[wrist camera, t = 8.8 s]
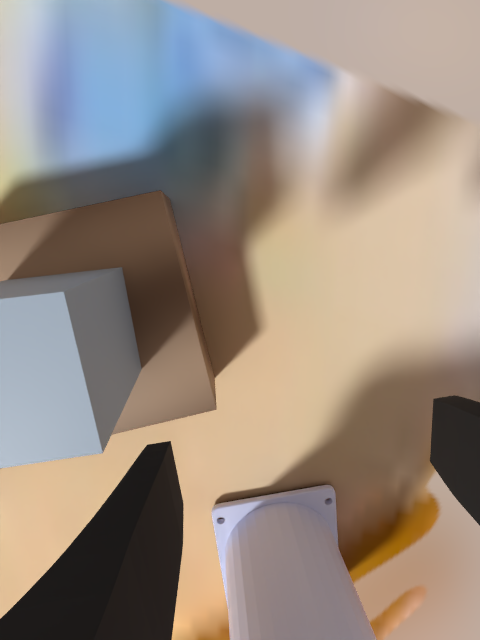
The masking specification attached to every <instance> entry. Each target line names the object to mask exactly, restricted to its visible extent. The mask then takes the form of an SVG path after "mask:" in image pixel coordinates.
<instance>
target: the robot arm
mask: <svg viewBox="0 0 480 640" xmlns="http://www.w3.org/2000/svg"><path fill="white" fill-rule="evenodd" d="M430 462H431V463H432V465H433V466H434V468H435V469H436V471H437V472H438V474H439V475H440V476H441V478H442V480H443V481H444V483H445V484H446V485H447V487H448V488H449V489H450V491H451V492H452V494H453V495H454V496H455V497H456V499H457V500H458V501H459V502H460V503H461V505H462V506H463V507H464V508H465V509H466V510H467V511H468V513H469V514H470V515H471V516H472V517H473V518H474V519H475V521H476V522H477V523H478V524H479V525H480V403H479V402H476V401H473V400H470V399H466V398H463V397H459V396H448V397H442V398H436V399H434V400H433V418H432V437H431V455H430ZM328 498H330V499H329V500H326V499H328ZM220 517H223V518H222V519H218V518H220ZM212 519H213V525H214V531H215V537H216V542H217V548H218V554H219V560H220V566H221V571H222V577H223V583H224V589H225V594H226V600H227V606H228V614H229V631H230V640H377V639H376V637H375V634H374V632H373V630H372V627H371V625H370V623H369V620H368V618H367V615H366V613H365V611H364V608H363V606H362V603H361V601H360V599H359V596H358V594H357V591H356V589H355V587H354V584H353V582H352V579H351V577H350V575H349V572H348V570H347V567H346V565H345V563H344V560H343V558H342V556H341V553H340V551H339V548H338V531H337V513H336V494H335V490H334V488H333V487H332V486H331V485H322V486H316V487H311V488H305V489H299V490H293V491H288V492H282V493H276V494H270V495H265V496H259V497H253V498H247V499H242V500H236V501H230V502H224V503H219V504H216V505H214V506H213V508H212ZM182 547H183V500H182V495H181V490H180V485H179V480H178V475H177V470H176V465H175V461H174V456H173V451H172V446H171V441H169V442H162V443H156V444H150V445H147V446H146V447H145V448H144V450H143V451H142V452H141V454H140V455H139V456H138V458H137V459H136V461H135V462H134V463H133V465H132V466H131V468H130V469H129V470H128V472H127V473H126V475H125V476H124V477H123V479H122V480H121V481H120V483H119V484H118V486H117V487H116V488H115V490H114V491H113V492H112V493H111V495H110V496H109V497H108V499H107V500H106V501H105V503H104V504H103V505H102V507H101V508H100V509H99V511H98V512H97V513H96V514H95V516H94V517H93V518H92V519H91V521H90V522H89V523H88V524H87V525H86V527H85V528H84V529H83V530H82V531H81V533H80V534H79V535H78V536H77V538H76V539H75V540H74V541H73V542H72V544H71V545H70V546H69V547H68V548H67V550H66V551H65V552H64V553H63V554H62V555H61V556H60V558H59V559H58V560H57V561H56V562H55V563H54V564H53V565H52V566H51V568H50V569H49V570H48V571H47V572H46V573H45V574H44V575H43V576H42V577H41V578H40V579H39V580H38V581H37V582H36V583H35V585H34V586H33V587H32V588H31V589H30V590H29V591H28V592H27V593H26V594H25V595H24V596H23V597H22V598H21V599H20V600H19V601H18V602H17V603H16V604H15V605H14V606H13V607H12V608H11V609H10V610H9V611H8V612H7V613H6V614H5V615H4V616H3V617H2V618H1V619H0V640H171V638H172V630H173V622H174V614H175V606H176V598H177V590H178V582H179V573H180V565H181V556H182Z"/></svg>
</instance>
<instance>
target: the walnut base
mask: <svg viewBox="0 0 480 640" xmlns="http://www.w3.org/2000/svg"><path fill="white" fill-rule="evenodd" d="M119 267H122V270H123V275H124V280H125V286H126V291H127V296H128V301H129V306H130V311H131V317H132V322H133V327H134V332H135V337H136V343H137V348H138V353H139V358H140V363H141V368H142V370H141V372H140V374H139V376H138V378H137V380H136V383H135V385H134V387H133V389H132V391H131V393H130V395H129V398H128V400H127V402H126V404H125V406H124V408H123V411H122V413H121V415H120V417H119V419H118V421H117V423H116V426H115V428H114V430H113V432H112V434H116V433H120V432H125V431H129V430H133V429H137V428H141V427H145V426H150V425H154V424H158V423H162V422H166V421H171V420H175V419H179V418H183V417H187V416H191V415H196V414H200V413H204V412H208V411H212V410H216V393H215V378H214V374H213V370H212V366H211V362H210V358H209V354H208V350H207V346H206V342H205V338H204V334H203V330H202V326H201V322H200V318H199V314H198V310H197V306H196V302H195V298H194V294H193V290H192V286H191V282H190V278H189V274H188V270H187V266H186V262H185V258H184V254H183V250H182V246H181V242H180V238H179V234H178V230H177V226H176V222H175V218H174V214H173V210H172V206H171V202H170V199H169V198H168V197H167V196H166V195H165V194H164V193H163V192H162V191H161V190H159V191H155V192H150V193H145V194H140V195H136V196H131V197H126V198H122V199H117V200H112V201H107V202H103V203H98V204H93V205H88V206H84V207H79V208H74V209H69V210H65V211H60V212H55V213H50V214H46V215H41V216H36V217H31V218H27V219H22V220H17V221H12V222H8V223H3V224H0V282H1V281H5V280H11V279H20V278H29V277H38V276H47V275H56V274H65V273H74V272H83V271H92V270H101V269H110V268H119ZM112 434H111V435H112Z"/></svg>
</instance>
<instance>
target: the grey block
mask: <svg viewBox="0 0 480 640" xmlns="http://www.w3.org/2000/svg"><path fill="white" fill-rule="evenodd" d="M141 370H142V368H141V363H140V358H139V353H138V348H137V343H136V337H135V332H134V327H133V322H132V317H131V311H130V306H129V301H128V296H127V291H126V286H125V280H124V275H123V270H122V267H119V268H110V269H101V270H92V271H83V272H74V273H65V274H56V275H47V276H38V277H29V278H20V279H11V280H5V281H1V282H0V468H6V467H12V466H19V465H26V464H33V463H39V462H46V461H53V460H60V459H66V458H73V457H80V456H86V455H93V454H100V453H103V451H104V449H105V447H106V445H107V443H108V441H109V439H110V436H111V434H112V432H113V430H114V428H115V426H116V423H117V421H118V419H119V417H120V415H121V413H122V411H123V408H124V406H125V404H126V402H127V400H128V398H129V395H130V393H131V391H132V389H133V387H134V385H135V383H136V380H137V378H138V376H139V374H140V372H141Z"/></svg>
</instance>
